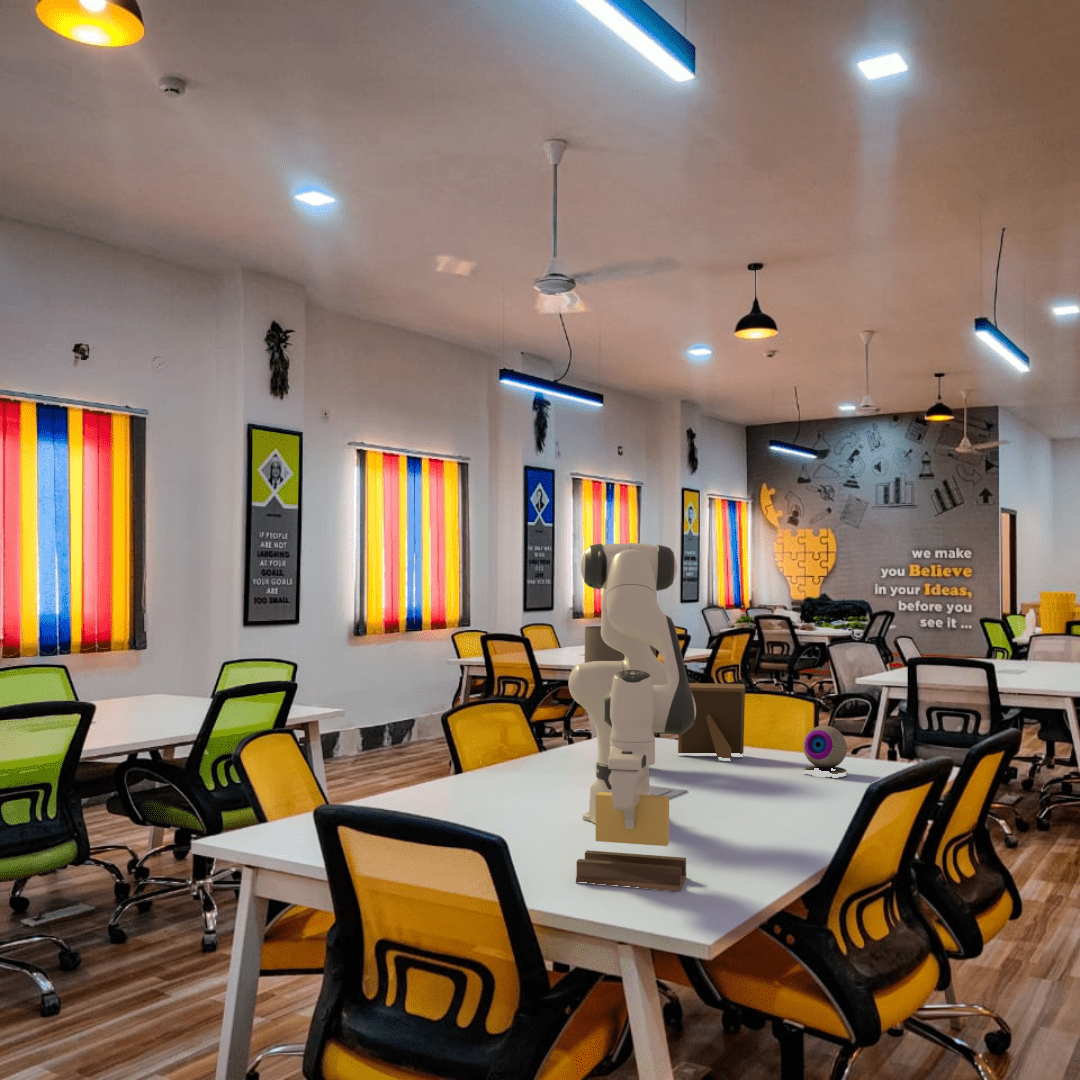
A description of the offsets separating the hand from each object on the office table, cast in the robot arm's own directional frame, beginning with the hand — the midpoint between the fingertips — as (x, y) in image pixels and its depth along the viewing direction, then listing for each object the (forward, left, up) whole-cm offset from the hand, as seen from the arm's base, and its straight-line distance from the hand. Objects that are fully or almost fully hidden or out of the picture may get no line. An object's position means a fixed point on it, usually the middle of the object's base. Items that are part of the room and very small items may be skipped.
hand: (632, 825), depth 204 cm
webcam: (-133, +36, -11) cm, 138 cm away
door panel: (0, 0, -3) cm, 3 cm away
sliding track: (0, 0, -11) cm, 11 cm away
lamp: (-126, -27, -11) cm, 129 cm away
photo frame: (-153, -1, -11) cm, 154 cm away
